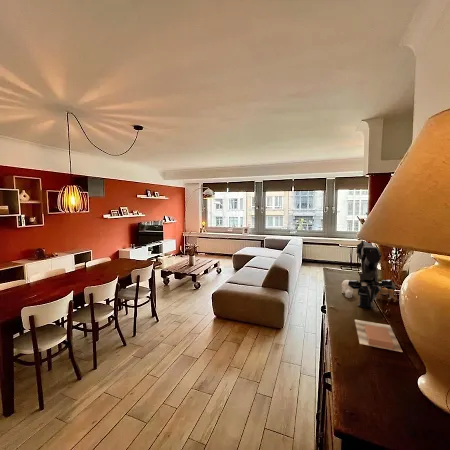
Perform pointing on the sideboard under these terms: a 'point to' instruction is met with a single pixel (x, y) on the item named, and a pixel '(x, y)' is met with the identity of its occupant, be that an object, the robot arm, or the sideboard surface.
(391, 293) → the lion figurine
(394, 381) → the sideboard surface
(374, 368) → the sideboard surface
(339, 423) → the sideboard surface
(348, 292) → the white rounded lump
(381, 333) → the tile
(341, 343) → the sideboard surface
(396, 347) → the board
